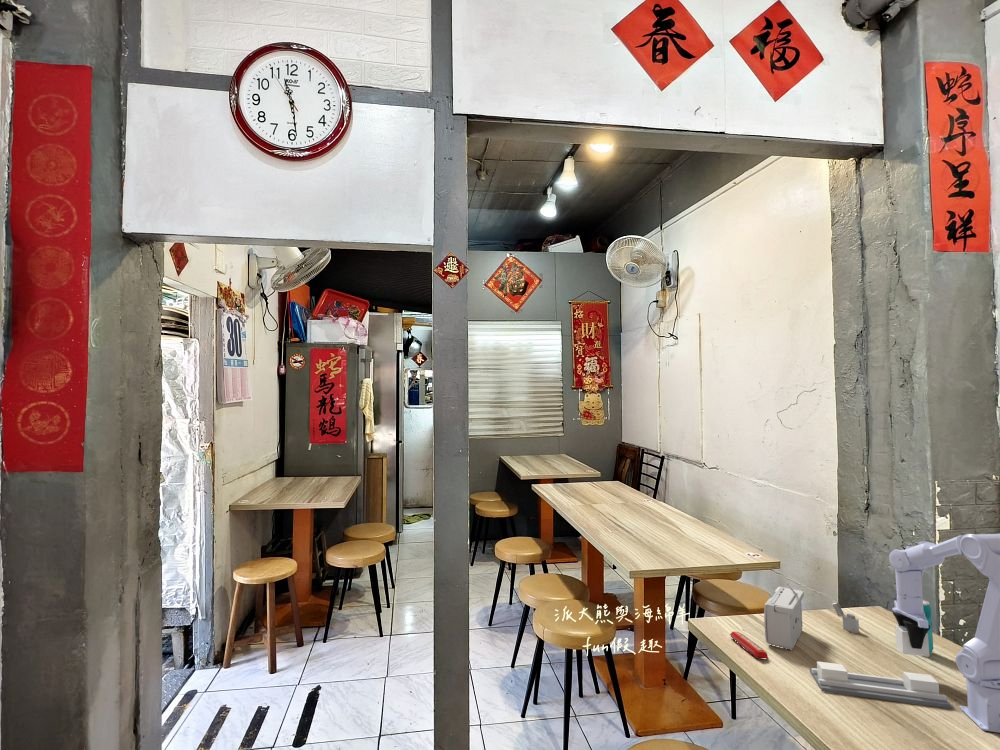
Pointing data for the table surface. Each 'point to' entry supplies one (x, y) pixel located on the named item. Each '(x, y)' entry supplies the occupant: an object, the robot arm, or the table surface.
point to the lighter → (847, 619)
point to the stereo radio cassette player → (783, 617)
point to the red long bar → (749, 645)
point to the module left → (832, 671)
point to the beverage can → (928, 617)
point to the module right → (920, 683)
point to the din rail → (880, 689)
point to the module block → (905, 645)
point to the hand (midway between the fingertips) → (912, 644)
